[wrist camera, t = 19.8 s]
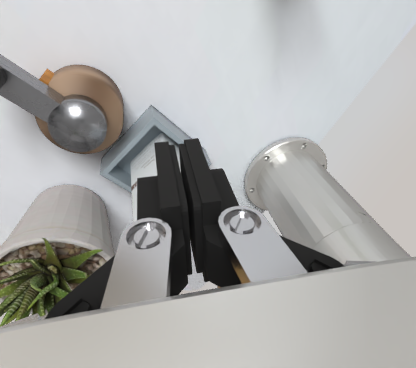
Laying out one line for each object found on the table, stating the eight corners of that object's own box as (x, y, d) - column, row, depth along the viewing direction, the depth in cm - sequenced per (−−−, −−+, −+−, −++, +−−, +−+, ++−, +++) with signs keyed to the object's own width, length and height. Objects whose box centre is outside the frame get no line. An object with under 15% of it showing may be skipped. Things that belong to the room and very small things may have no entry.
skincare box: (161, 129, 36) (175, 190, 26) (187, 151, 38) (208, 214, 29) (127, 163, 37) (129, 232, 28) (154, 181, 40) (164, 251, 30)
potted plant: (138, 182, 40) (148, 324, 24) (100, 250, 46) (87, 400, 30) (36, 147, 34) (-40, 304, 18) (6, 229, 40) (-71, 404, 24)
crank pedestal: (138, 100, 33) (139, 114, 30) (94, 148, 36) (92, 166, 33) (66, 42, 29) (59, 52, 26) (22, 102, 31) (10, 117, 28)
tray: (205, 150, 39) (211, 164, 36) (158, 194, 42) (161, 210, 39) (151, 104, 34) (153, 117, 31) (101, 158, 37) (99, 174, 34)
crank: (117, 116, 30) (116, 139, 26) (89, 151, 31) (84, 178, 27) (-5, 31, 24) (-31, 45, 20) (-33, 80, 25) (-62, 102, 21)
